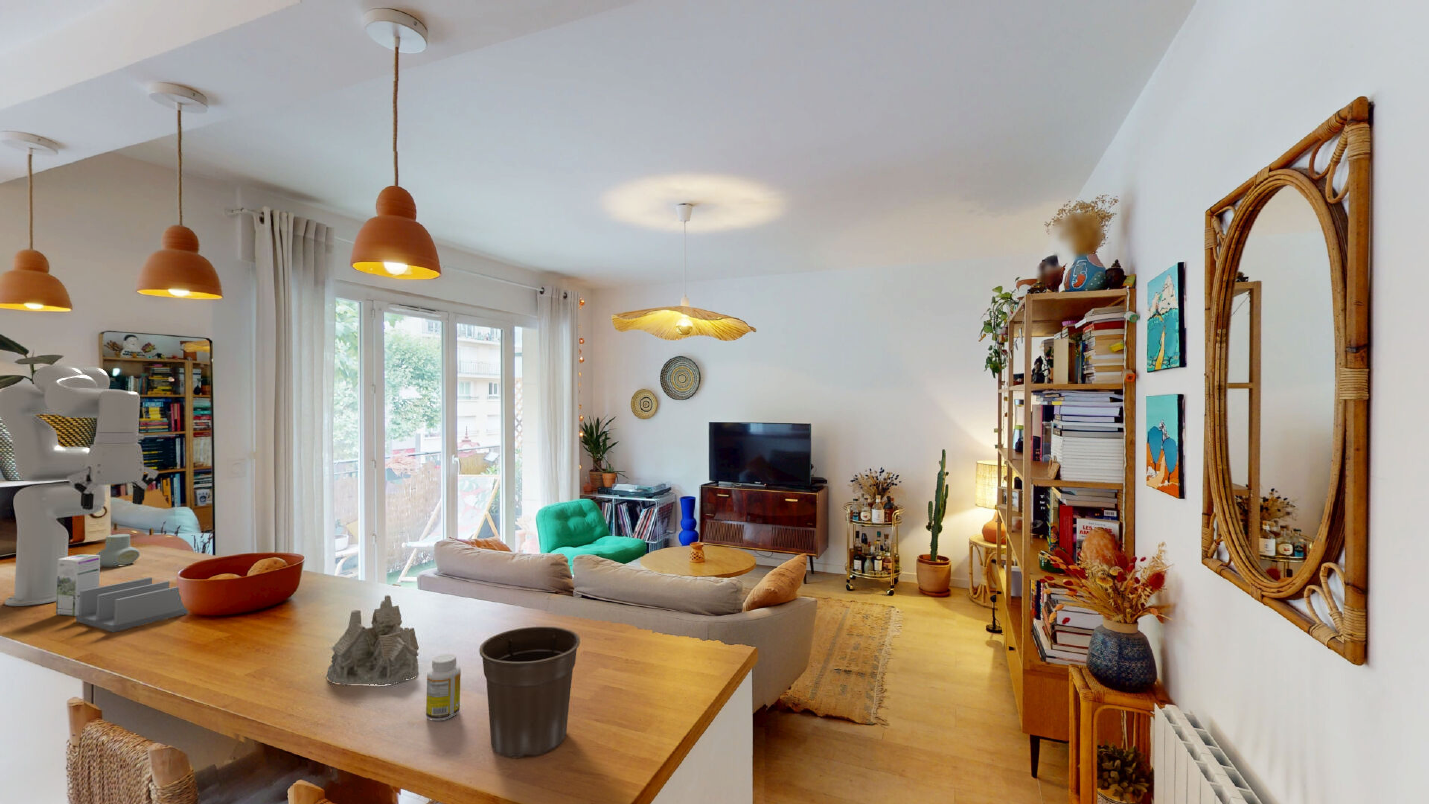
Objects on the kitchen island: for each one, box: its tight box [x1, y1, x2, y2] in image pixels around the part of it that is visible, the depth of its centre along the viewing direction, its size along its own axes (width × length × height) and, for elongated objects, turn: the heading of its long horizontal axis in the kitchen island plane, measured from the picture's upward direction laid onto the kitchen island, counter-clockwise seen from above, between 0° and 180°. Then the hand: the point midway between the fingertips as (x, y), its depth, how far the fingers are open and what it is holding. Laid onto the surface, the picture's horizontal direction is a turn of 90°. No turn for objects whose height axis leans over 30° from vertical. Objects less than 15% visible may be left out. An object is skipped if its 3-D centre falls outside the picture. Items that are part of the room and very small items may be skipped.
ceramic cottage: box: [326, 594, 420, 685], centre depth 124 cm, size 16×16×15 cm
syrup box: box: [55, 553, 101, 617], centre depth 156 cm, size 6×6×14 cm
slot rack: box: [75, 576, 189, 633], centre depth 153 cm, size 17×15×8 cm
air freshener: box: [95, 533, 141, 568], centre depth 202 cm, size 11×8×10 cm
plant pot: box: [478, 626, 581, 759], centre depth 101 cm, size 16×16×16 cm
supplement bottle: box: [425, 653, 462, 721], centre depth 108 cm, size 6×6×10 cm
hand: (113, 506), depth 152 cm, fingers open, 9 cm apart
